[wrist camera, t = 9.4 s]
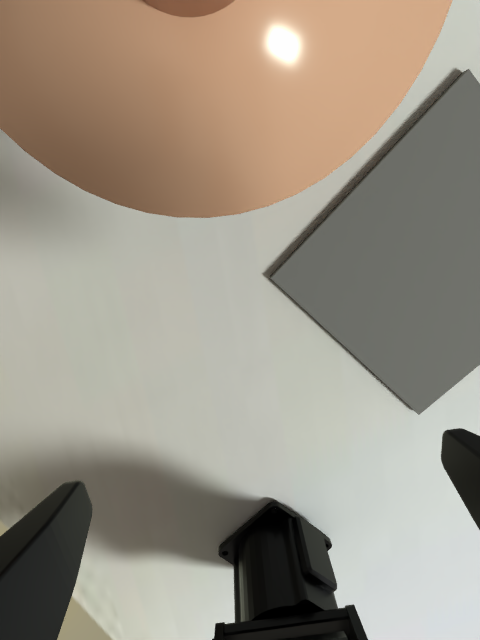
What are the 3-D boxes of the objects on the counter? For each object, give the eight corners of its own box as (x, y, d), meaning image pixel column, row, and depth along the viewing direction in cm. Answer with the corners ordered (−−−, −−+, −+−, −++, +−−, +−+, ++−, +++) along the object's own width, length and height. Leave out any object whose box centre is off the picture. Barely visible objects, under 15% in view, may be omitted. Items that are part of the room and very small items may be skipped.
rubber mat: (415, 411, 24) (418, 414, 23) (269, 277, 20) (270, 278, 20) (598, 259, 21) (605, 260, 20) (463, 72, 17) (468, 69, 17)
